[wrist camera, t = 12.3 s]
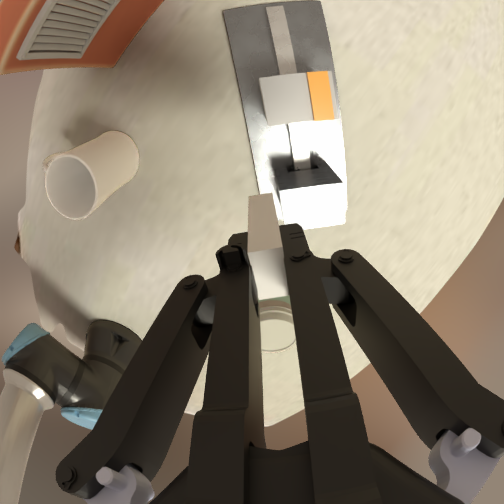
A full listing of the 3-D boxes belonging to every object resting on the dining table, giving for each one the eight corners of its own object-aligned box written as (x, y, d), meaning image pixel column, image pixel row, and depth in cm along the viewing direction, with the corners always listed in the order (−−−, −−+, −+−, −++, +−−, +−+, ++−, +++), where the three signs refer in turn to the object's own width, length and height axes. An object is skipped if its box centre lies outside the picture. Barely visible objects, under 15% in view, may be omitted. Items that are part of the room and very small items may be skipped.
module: (320, 111, 31) (339, 119, 24) (265, 118, 32) (268, 127, 25) (315, 74, 28) (332, 70, 21) (258, 80, 29) (259, 77, 22)
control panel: (81, 59, 27) (142, -24, 20) (113, 78, 29) (179, -8, 23) (-34, 70, 9) (55, -79, 2) (-3, 94, 11) (104, -76, 5)
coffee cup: (260, 253, 44) (261, 307, 34) (305, 275, 46) (316, 329, 36) (235, 289, 48) (230, 344, 38) (277, 307, 51) (281, 361, 41)
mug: (70, 164, 36) (22, 195, 26) (84, 115, 32) (32, 132, 21) (128, 194, 39) (91, 233, 29) (148, 143, 35) (108, 169, 25)
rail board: (345, 207, 40) (365, 239, 32) (264, 218, 41) (266, 253, 33) (318, 3, 23) (336, -20, 16) (224, 13, 25) (213, -9, 17)
